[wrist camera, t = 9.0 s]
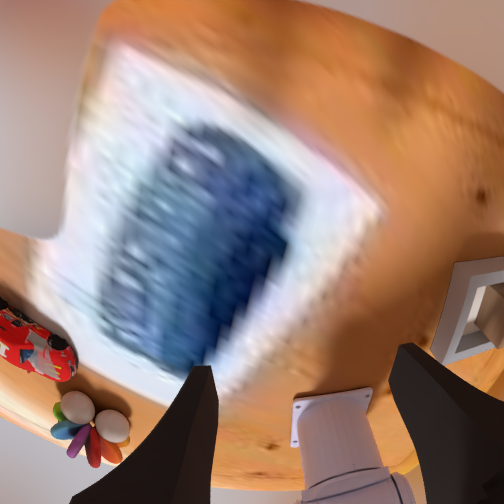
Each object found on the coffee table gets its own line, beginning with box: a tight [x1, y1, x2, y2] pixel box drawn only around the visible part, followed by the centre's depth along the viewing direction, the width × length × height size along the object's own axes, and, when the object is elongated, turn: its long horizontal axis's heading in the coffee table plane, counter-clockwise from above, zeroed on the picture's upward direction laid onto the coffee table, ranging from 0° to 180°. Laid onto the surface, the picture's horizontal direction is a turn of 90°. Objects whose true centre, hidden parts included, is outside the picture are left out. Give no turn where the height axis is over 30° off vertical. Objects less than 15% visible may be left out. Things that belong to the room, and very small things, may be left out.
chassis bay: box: [430, 256, 504, 365], centre depth 21 cm, size 9×14×2 cm, turn 94°
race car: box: [0, 297, 78, 382], centre depth 21 cm, size 13×5×4 cm, turn 61°
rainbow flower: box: [51, 391, 130, 468], centre depth 24 cm, size 8×10×7 cm
